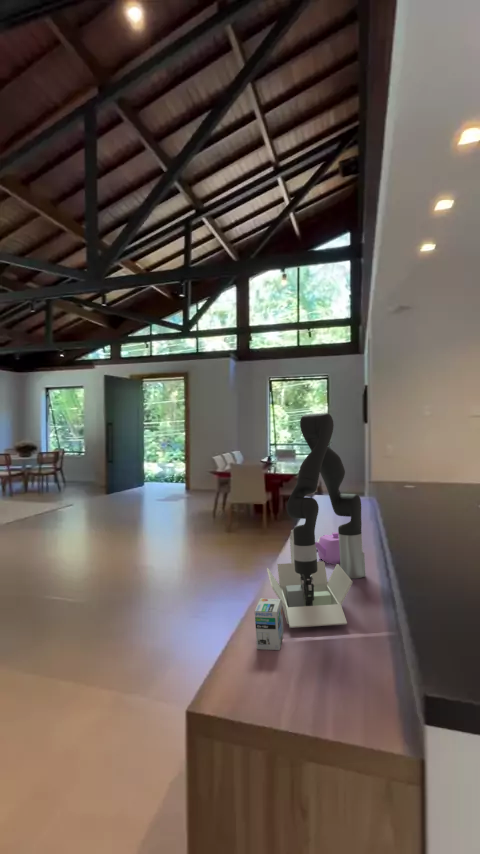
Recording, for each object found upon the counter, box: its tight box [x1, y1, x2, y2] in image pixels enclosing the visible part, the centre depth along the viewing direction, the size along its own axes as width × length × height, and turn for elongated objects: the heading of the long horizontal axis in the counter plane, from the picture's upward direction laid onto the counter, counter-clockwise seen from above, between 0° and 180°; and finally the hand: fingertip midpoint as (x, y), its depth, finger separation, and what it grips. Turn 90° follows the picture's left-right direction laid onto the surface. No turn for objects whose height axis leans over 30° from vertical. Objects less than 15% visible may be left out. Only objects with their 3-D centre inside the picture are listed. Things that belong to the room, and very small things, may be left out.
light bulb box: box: [254, 597, 285, 651], centre depth 135 cm, size 11×7×11 cm, turn 168°
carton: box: [266, 560, 354, 629], centre depth 153 cm, size 25×32×12 cm
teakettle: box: [315, 531, 340, 565], centre depth 215 cm, size 17×17×12 cm
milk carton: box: [289, 529, 294, 563], centre depth 195 cm, size 7×7×19 cm
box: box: [286, 585, 331, 607], centre depth 155 cm, size 14×6×7 cm, turn 91°
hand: (308, 608), depth 155 cm, fingers closed on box, 4 cm apart
